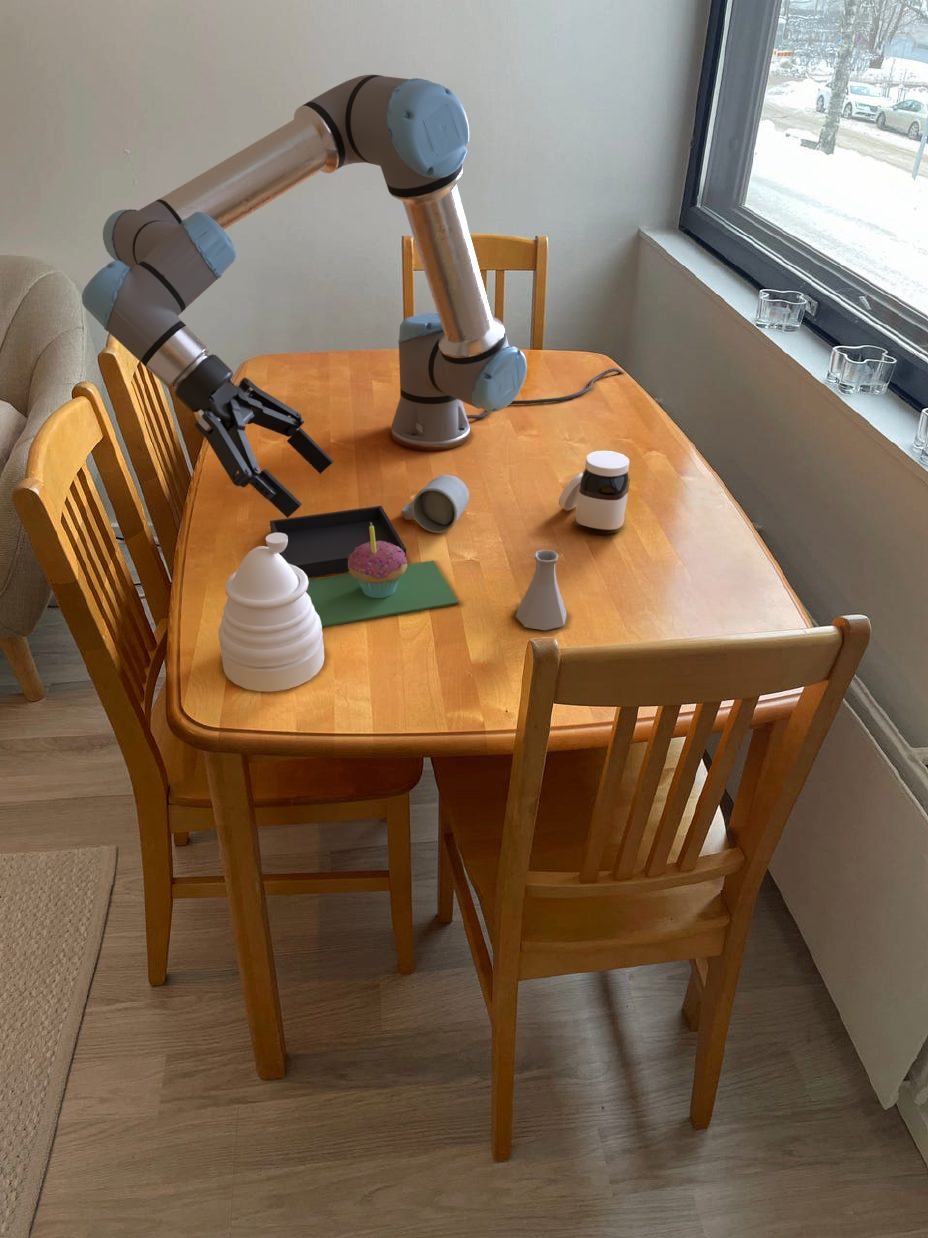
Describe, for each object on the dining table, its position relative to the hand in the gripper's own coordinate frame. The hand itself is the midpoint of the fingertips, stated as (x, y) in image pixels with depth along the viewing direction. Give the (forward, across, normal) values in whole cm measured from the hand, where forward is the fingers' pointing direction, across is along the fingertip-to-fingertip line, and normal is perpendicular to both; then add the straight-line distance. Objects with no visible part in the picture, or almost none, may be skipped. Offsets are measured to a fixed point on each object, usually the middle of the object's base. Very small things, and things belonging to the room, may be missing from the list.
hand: (311, 488), depth 125 cm
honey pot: (+11, +19, -11) cm, 25 cm away
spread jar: (+38, -29, +15) cm, 50 cm away
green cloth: (+17, +1, -4) cm, 18 cm away
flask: (+34, +2, +12) cm, 36 cm away
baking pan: (+10, -10, -11) cm, 19 cm away
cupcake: (+17, 0, -4) cm, 18 cm away
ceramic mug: (+20, -22, -2) cm, 30 cm away
